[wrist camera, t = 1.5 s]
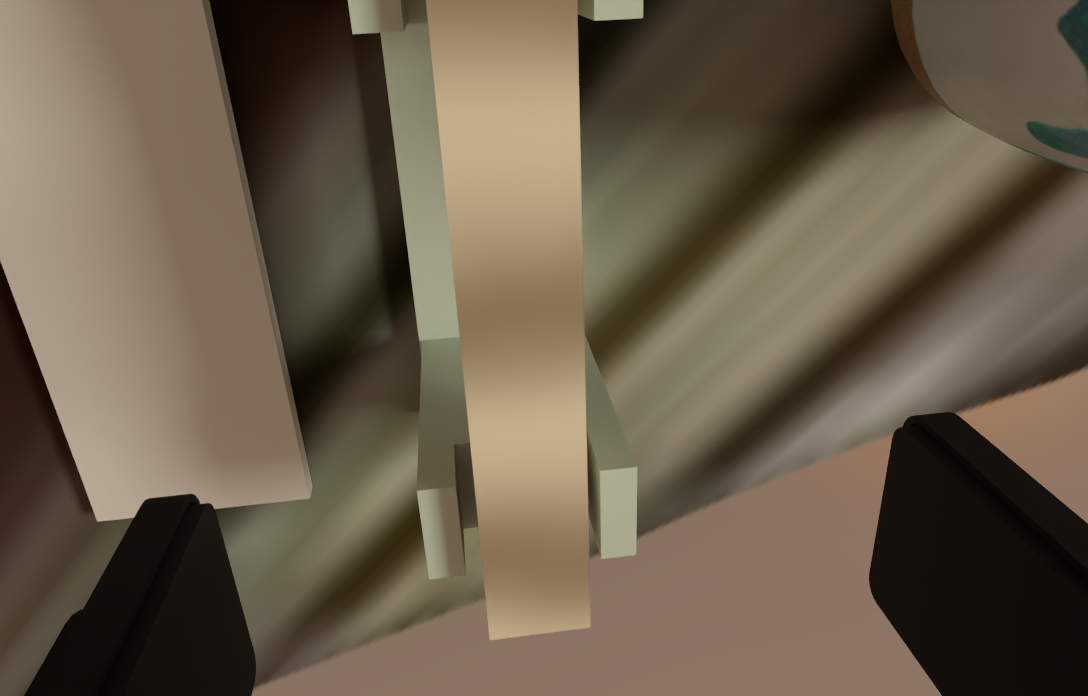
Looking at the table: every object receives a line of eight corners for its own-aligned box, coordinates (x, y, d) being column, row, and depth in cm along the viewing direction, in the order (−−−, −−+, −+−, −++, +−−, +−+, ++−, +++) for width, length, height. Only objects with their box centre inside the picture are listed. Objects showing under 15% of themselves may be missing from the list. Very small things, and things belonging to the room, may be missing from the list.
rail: (405, -228, 15) (399, -266, 13) (548, -231, 16) (572, -270, 13) (483, 565, 24) (489, 640, 22) (573, 554, 25) (590, 627, 22)
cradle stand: (362, -126, 23) (316, -180, 14) (568, -134, 23) (650, -190, 14) (429, 409, 31) (427, 593, 22) (581, 394, 31) (639, 568, 22)
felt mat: (-168, -243, 20) (-190, -250, 20) (155, -250, 21) (146, -257, 20) (104, 508, 31) (97, 521, 30) (312, 486, 32) (309, 498, 31)
